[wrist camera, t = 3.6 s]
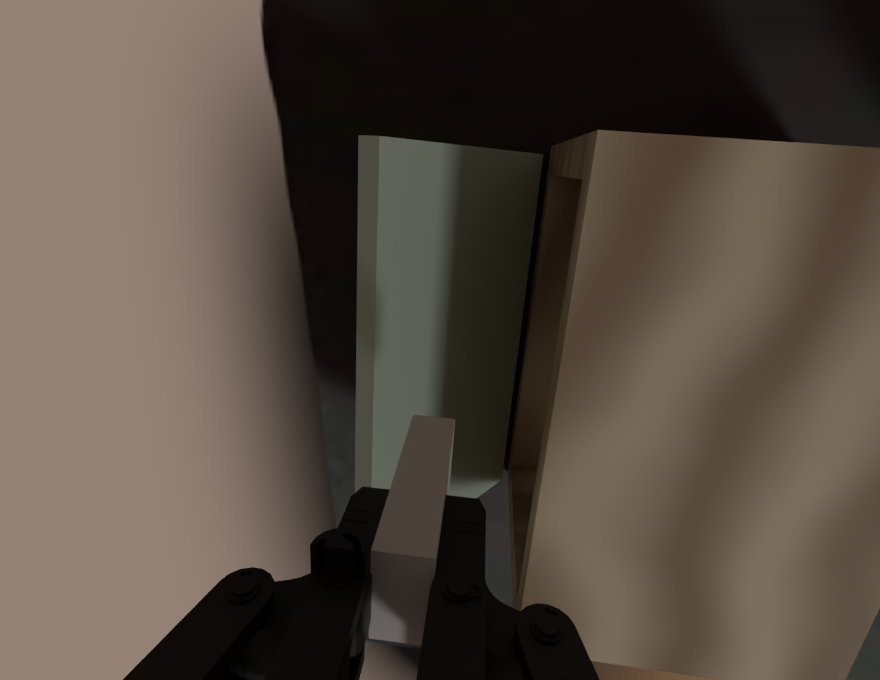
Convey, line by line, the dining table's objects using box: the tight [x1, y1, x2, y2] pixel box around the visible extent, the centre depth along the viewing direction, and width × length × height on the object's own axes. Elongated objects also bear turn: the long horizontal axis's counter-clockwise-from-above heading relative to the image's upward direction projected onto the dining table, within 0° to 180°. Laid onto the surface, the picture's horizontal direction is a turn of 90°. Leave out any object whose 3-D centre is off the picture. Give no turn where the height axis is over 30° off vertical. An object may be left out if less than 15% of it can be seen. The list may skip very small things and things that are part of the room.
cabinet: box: [508, 130, 880, 680], centre depth 25 cm, size 14×22×14 cm, turn 176°
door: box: [355, 135, 543, 498], centre depth 27 cm, size 2×21×12 cm
